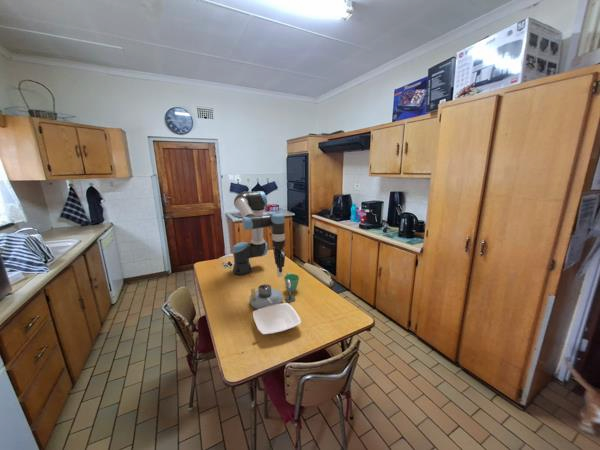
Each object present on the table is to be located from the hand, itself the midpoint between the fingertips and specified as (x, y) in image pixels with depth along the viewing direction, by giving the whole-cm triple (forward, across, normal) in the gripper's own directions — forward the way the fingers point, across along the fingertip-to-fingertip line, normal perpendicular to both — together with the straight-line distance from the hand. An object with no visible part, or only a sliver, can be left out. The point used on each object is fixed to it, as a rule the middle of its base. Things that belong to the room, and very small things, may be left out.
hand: (279, 276), depth 149 cm
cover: (+12, -4, -9) cm, 15 cm away
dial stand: (+16, +3, +5) cm, 17 cm away
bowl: (+17, +22, -13) cm, 31 cm away
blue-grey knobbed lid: (+15, -2, -9) cm, 17 cm away
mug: (+17, -9, +12) cm, 22 cm away
